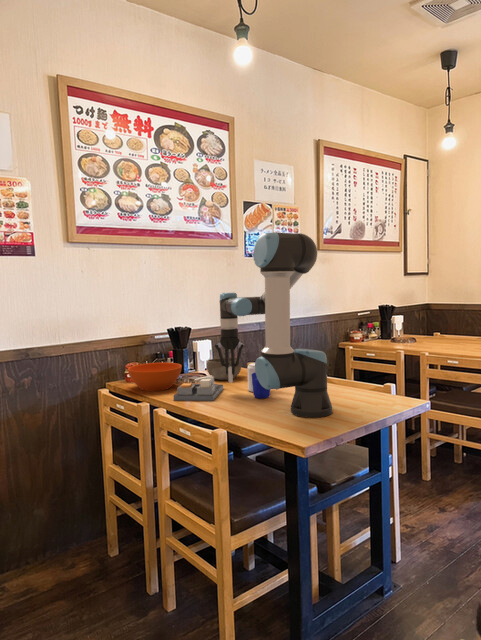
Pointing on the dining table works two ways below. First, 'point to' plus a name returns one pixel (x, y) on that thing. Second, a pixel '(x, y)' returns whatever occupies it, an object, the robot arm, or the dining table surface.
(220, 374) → the bowl
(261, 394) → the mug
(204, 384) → the button ivory
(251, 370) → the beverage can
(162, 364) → the bowl
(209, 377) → the slider knob
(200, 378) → the rocker
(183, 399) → the panel
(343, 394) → the dining table surface
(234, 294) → the robot arm
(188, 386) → the button orange
